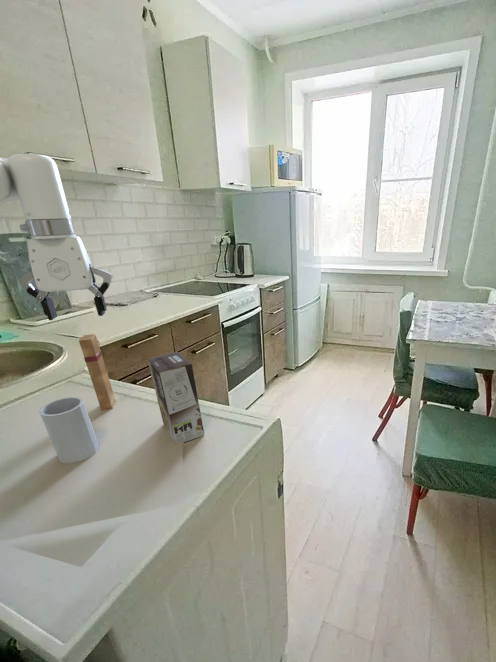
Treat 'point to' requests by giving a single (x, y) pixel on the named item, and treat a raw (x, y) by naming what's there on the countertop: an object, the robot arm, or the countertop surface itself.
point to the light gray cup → (69, 429)
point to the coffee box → (177, 396)
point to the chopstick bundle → (97, 371)
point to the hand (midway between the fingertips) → (77, 316)
